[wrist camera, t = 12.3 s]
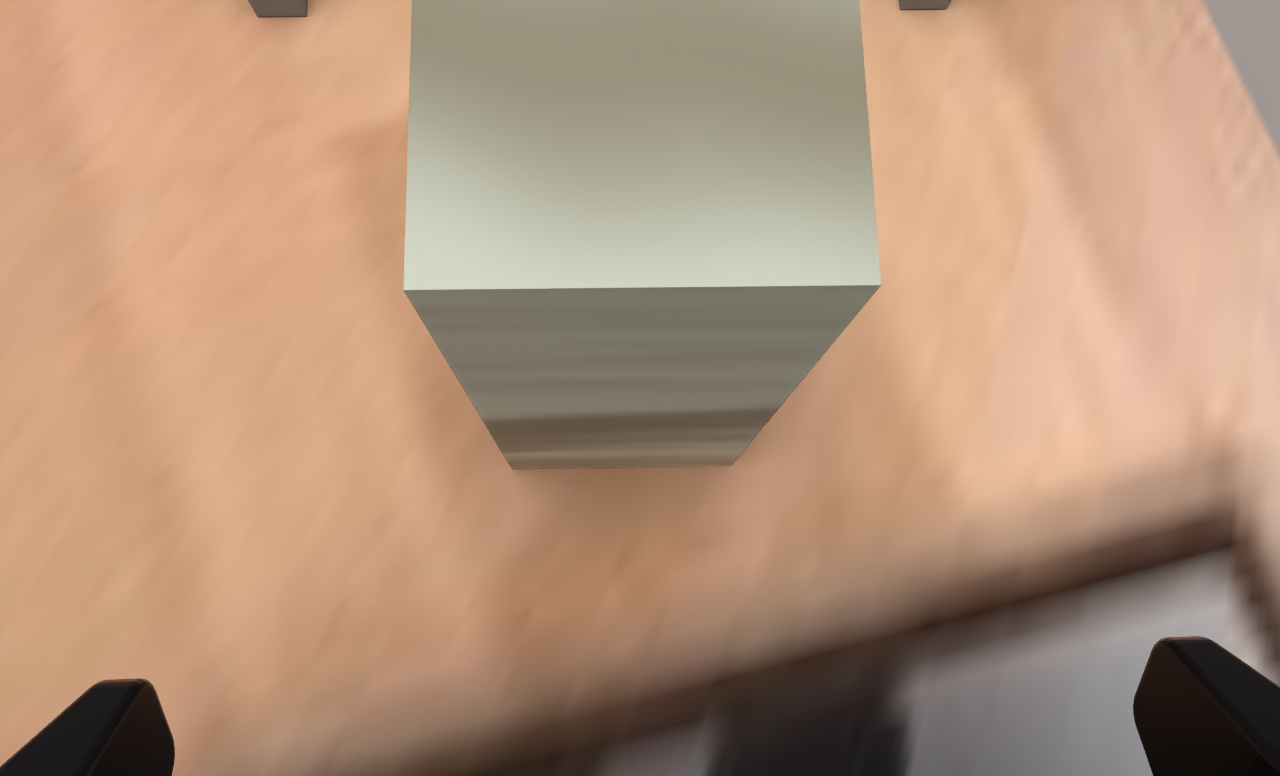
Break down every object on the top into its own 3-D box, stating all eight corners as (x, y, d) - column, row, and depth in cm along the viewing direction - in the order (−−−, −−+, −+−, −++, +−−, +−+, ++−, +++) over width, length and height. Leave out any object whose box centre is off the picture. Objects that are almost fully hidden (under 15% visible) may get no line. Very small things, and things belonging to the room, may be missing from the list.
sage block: (731, 465, 23) (880, 284, 11) (512, 468, 23) (403, 290, 11) (722, 258, 25) (849, -125, 12) (513, 260, 24) (416, -128, 12)
